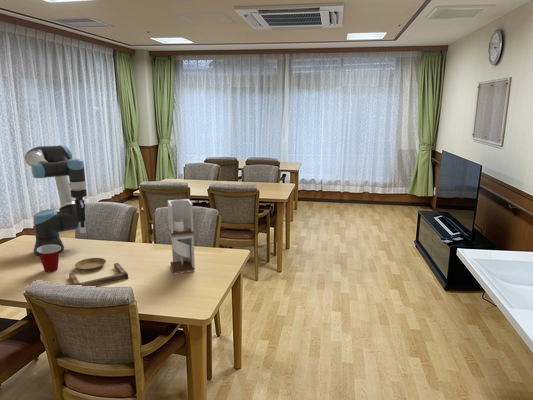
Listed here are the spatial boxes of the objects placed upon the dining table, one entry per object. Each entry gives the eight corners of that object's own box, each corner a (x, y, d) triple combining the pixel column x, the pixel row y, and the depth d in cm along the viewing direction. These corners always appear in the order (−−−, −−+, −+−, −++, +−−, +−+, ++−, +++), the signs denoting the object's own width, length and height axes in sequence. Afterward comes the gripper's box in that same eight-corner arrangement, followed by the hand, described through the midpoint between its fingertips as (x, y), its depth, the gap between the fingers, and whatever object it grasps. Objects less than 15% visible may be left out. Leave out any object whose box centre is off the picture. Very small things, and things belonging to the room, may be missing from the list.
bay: (69, 277, 188) (68, 273, 188) (118, 267, 201) (117, 262, 201) (76, 290, 175) (75, 285, 175) (128, 278, 188) (127, 273, 188)
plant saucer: (69, 273, 194) (68, 268, 194) (84, 261, 209) (83, 257, 208) (98, 274, 194) (97, 269, 193) (111, 262, 208) (110, 257, 207)
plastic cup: (50, 276, 190) (47, 252, 187) (34, 272, 194) (31, 249, 191) (68, 267, 200) (66, 245, 197) (52, 264, 204) (49, 242, 201)
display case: (170, 265, 204) (167, 200, 196) (191, 263, 208) (188, 199, 200) (173, 274, 194) (170, 205, 186) (194, 271, 197) (192, 204, 189)
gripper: (67, 187, 205) (72, 230, 210) (72, 192, 195) (77, 237, 200) (83, 186, 209) (87, 228, 215) (88, 190, 199) (93, 234, 204)
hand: (82, 232), depth 207 cm, fingers closed
